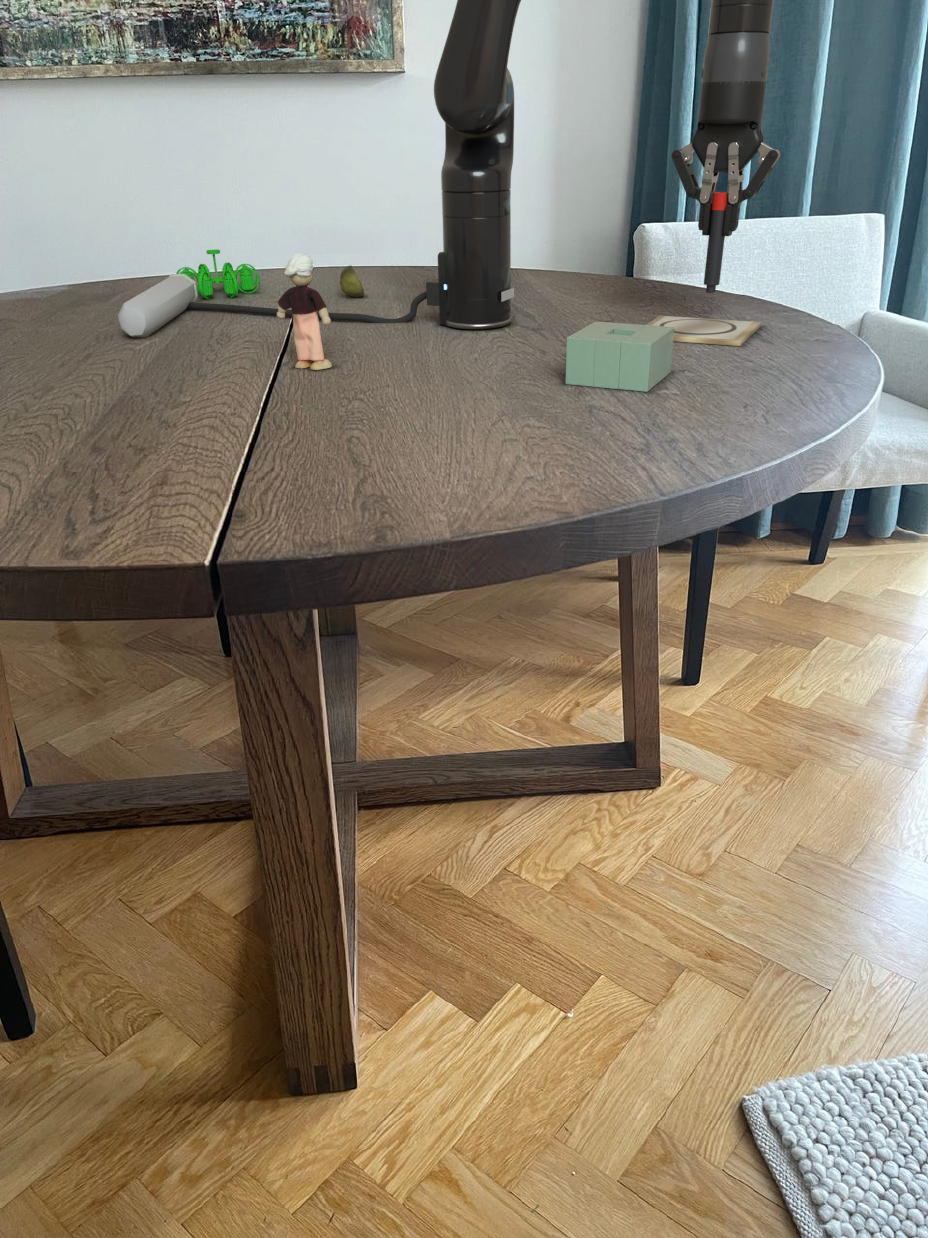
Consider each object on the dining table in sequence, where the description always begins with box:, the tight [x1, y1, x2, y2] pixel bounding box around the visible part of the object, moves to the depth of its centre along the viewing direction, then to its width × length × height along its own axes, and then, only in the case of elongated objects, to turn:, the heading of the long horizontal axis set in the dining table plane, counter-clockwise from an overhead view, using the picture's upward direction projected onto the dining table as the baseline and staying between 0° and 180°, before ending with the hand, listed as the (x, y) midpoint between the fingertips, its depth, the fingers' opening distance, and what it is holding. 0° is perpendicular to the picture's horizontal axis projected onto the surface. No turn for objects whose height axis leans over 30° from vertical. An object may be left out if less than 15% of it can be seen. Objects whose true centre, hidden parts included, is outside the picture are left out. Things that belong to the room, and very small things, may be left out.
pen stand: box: [565, 321, 674, 393], centre depth 102 cm, size 9×9×5 cm
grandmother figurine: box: [276, 253, 333, 371], centre depth 108 cm, size 8×4×13 cm, turn 71°
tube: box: [117, 273, 199, 339], centre depth 137 cm, size 5×5×25 cm
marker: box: [703, 191, 729, 294], centre depth 120 cm, size 2×2×12 cm
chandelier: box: [175, 249, 261, 300], centre depth 159 cm, size 15×15×7 cm
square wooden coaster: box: [645, 315, 762, 347], centre depth 123 cm, size 14×13×1 cm
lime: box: [339, 265, 365, 298], centre depth 152 cm, size 4×5×5 cm
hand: (716, 234), depth 119 cm, fingers closed on marker, 2 cm apart
